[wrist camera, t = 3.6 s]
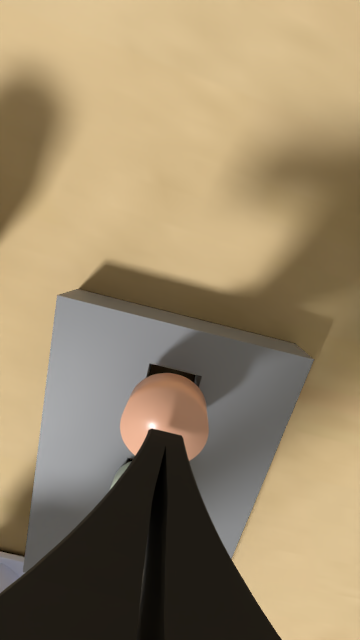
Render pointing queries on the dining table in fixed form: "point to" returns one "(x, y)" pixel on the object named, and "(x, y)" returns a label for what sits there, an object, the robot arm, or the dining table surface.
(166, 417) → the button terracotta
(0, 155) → the dining table surface
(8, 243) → the dining table surface
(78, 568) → the robot arm
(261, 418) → the panel
